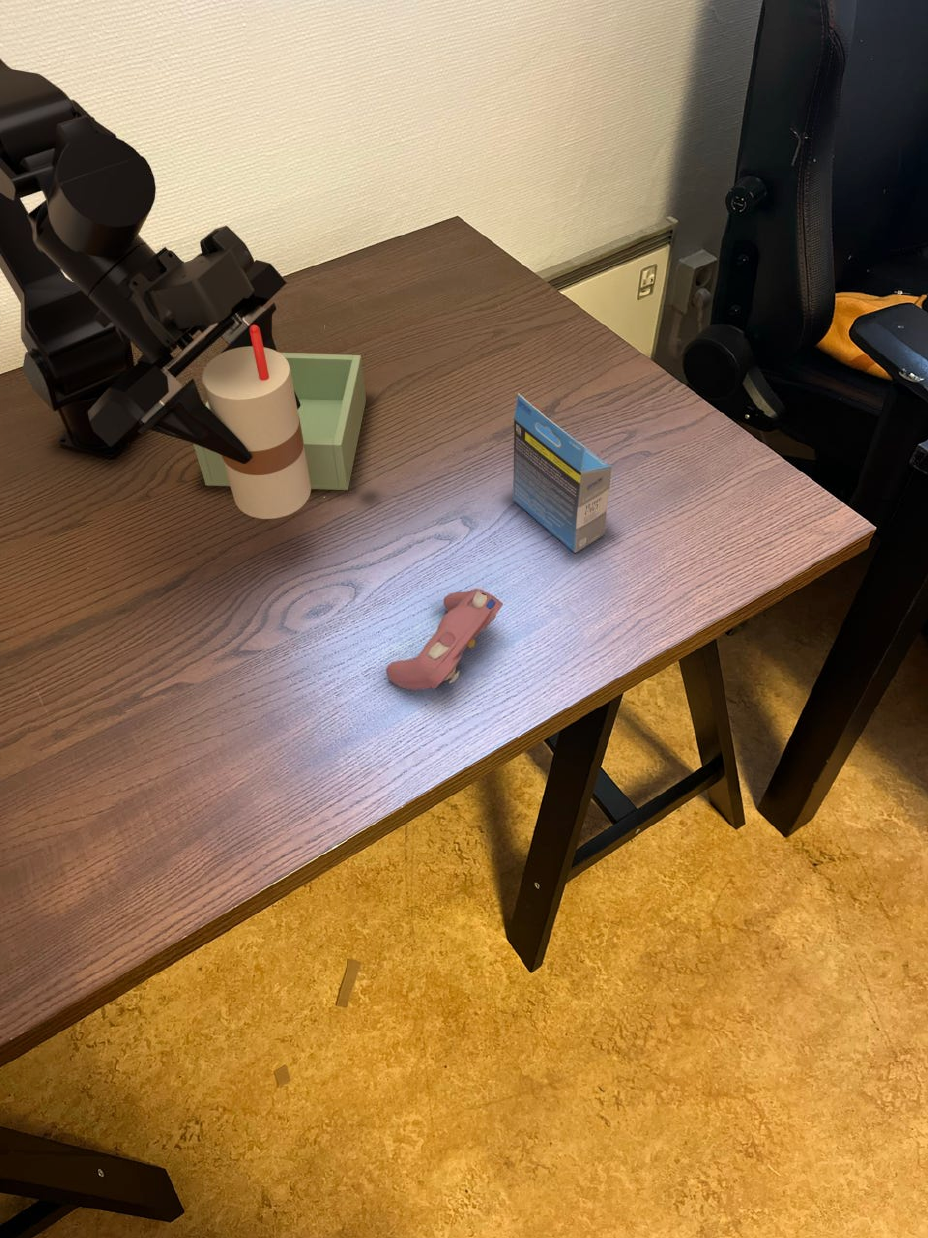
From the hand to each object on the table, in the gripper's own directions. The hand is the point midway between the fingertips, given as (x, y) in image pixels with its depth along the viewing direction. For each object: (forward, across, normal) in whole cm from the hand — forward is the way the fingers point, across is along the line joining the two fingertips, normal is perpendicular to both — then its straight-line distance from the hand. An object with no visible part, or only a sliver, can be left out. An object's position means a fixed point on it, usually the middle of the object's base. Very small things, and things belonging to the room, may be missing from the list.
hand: (273, 434), depth 73 cm
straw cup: (+4, 0, +6) cm, 7 cm away
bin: (+3, +13, +16) cm, 21 cm away
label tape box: (+23, +14, -4) cm, 27 cm away
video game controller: (+22, -5, -2) cm, 22 cm away
